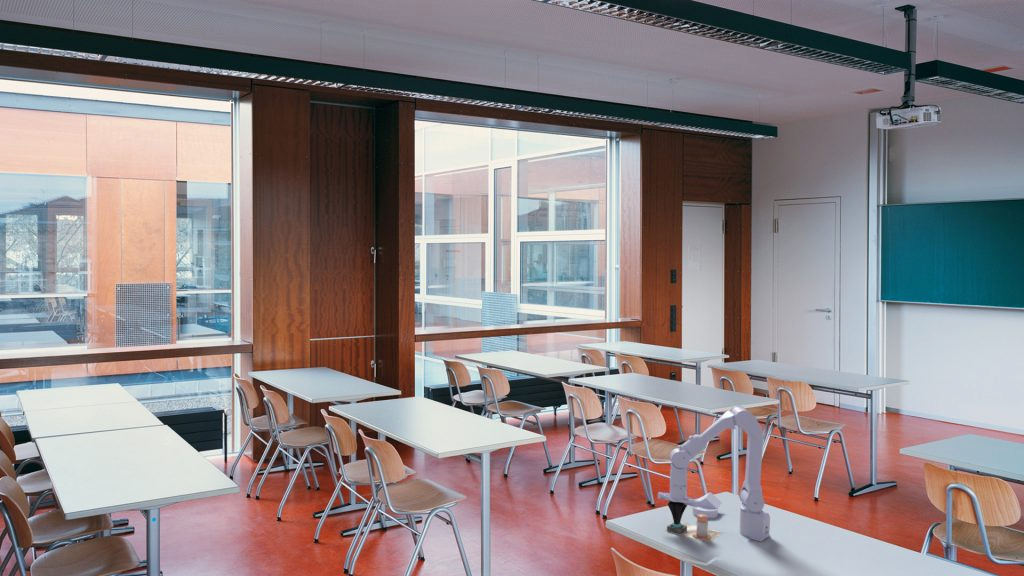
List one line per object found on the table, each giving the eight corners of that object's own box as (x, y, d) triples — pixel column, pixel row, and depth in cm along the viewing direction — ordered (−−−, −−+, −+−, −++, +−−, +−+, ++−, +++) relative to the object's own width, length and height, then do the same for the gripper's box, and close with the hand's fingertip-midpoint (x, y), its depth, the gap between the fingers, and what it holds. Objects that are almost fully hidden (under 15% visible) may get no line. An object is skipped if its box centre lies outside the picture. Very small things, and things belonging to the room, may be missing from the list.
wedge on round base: (697, 507, 301) (689, 517, 290) (698, 490, 301) (690, 499, 289) (721, 511, 297) (714, 521, 286) (722, 493, 297) (715, 503, 285)
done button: (682, 528, 274) (683, 523, 274) (678, 531, 271) (679, 525, 271) (675, 526, 276) (675, 521, 276) (670, 529, 273) (671, 523, 273)
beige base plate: (727, 534, 273) (727, 528, 272) (709, 546, 262) (710, 539, 262) (679, 522, 284) (679, 516, 284) (660, 532, 273) (661, 526, 273)
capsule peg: (709, 536, 269) (709, 515, 268) (704, 538, 266) (705, 518, 265) (698, 533, 271) (699, 513, 270) (694, 536, 268) (695, 515, 268)
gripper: (653, 482, 274) (652, 521, 275) (692, 491, 265) (691, 531, 266) (663, 478, 280) (662, 516, 280) (701, 486, 271) (700, 526, 271)
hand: (677, 523), depth 273 cm, fingers closed, pressing on done button
